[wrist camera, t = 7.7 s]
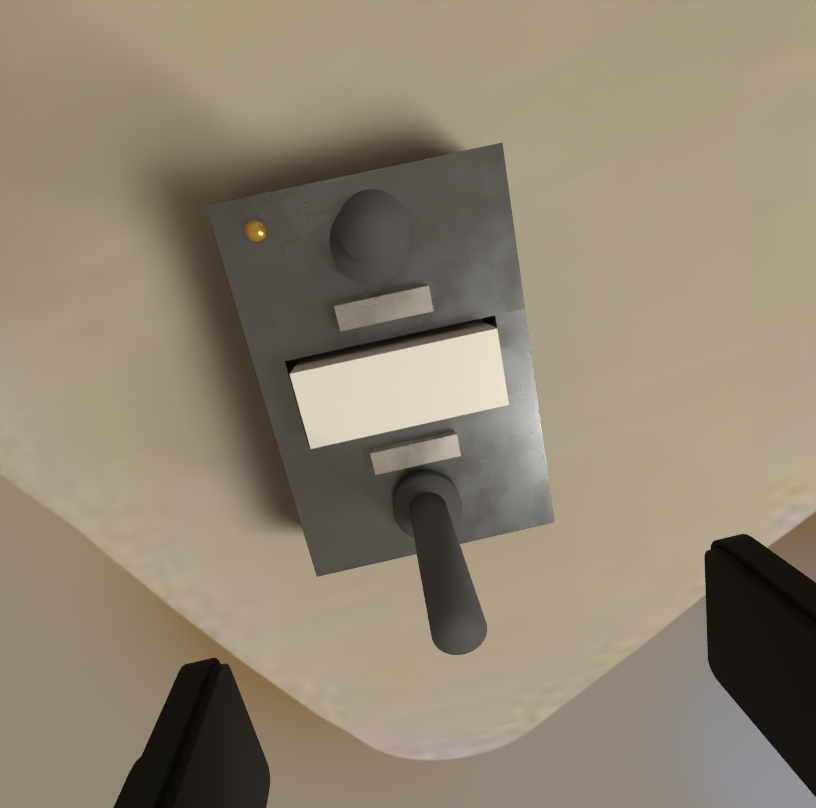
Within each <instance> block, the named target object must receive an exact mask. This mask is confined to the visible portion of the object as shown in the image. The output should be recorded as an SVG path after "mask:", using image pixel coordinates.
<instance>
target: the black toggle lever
mask: <svg viewBox="0 0 816 808" xmlns="http://www.w3.org/2000/svg"><path fill="white" fill-rule="evenodd" d="M393 513H394V518H395V521H396V523H397V525H398V527H399V528H400V529H401V530H402V531H403V532H404V533H405V534H407V535H408V536H410V537H412V538H414V541H415V546H416V552H417V557H418V563H419V568H420V574H421V580H422V585H423V591H424V596H425V602H426V607H427V613H428V619H429V624H430V630H431V635H432V640H433V642H434V644H435V645H436V647H437V648H438V649H440V650H441V651H443V652H445V653H447V654H452V655H461V654H466V653H469V652H471V651H473V650H475V649H476V648H477V647H479V646H480V645H481V643H482V642H483V641H484V639H485V637H486V633H487V624H486V621H485V618H484V615H483V612H482V609H481V606H480V603H479V600H478V597H477V595H476V592H475V589H474V586H473V583H472V580H471V577H470V574H469V571H468V568H467V565H466V562H465V559H464V556H463V553H462V550H461V547H460V544H459V541H458V538H457V535H456V532H455V529H454V527H455V526H456V525H457V523H458V521H459V519H460V517H461V513H462V501H461V498H460V495H459V493H458V490H457V488H456V486H455V484H454V483H453V482H452V481H451V480H450V479H449V478H448V477H447V476H445V475H444V474H442V473H439V472H436V471H419V472H415V473H413V474H411V475H409V476H407V477H406V478H405V479H403V480H402V481H401V482H400V484H399V485H398V486H397V488H396V490H395V492H394V495H393Z"/></svg>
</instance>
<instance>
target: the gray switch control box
mask: <svg viewBox="0 0 816 808" xmlns="http://www.w3.org/2000/svg"><path fill="white" fill-rule="evenodd" d="M368 189H377V190H382V191H385V192H387V193H389V194H391V195H392V196H394V197H395V198H396V199H397V200H398V201H399V202H400V203H401V205H402V206H403V208H404V210H405V212H406V214H407V217H408V222H409V233H410V251H409V255H408V258H407V261H406V262H405V264H404V266H403V267H402V269H401V270H400V271H399V272H398V273H397V274H396V275H395V276H393V277H392V278H390V279H389V280H386V281H384V282H381V283H376V284H366V283H361V282H357V281H355V280H353V279H351V278H349V277H348V276H347V275H345V274H344V273H343V272H342V271H341V270H340V269H339V268H338V266H337V265H336V263H335V261H334V259H333V257H332V254H331V251H330V245H329V236H330V230H331V227H332V224H333V222H334V220H335V218H336V216H337V215H338V214H339V212H340V210H341V208H342V206H343V205H344V203H345V202H346V201H347V200H348V199H349V198H350V197H351V196H352V195H354V194H356V193H358V192H360V191H363V190H368ZM206 209H207V212H208V215H209V219H210V222H211V225H212V229H213V232H214V235H215V239H216V242H217V245H218V249H219V252H220V255H221V259H222V262H223V265H224V269H225V272H226V275H227V279H228V282H229V285H230V289H231V292H232V295H233V299H234V302H235V305H236V309H237V312H238V315H239V319H240V322H241V325H242V329H243V332H244V335H245V339H246V342H247V345H248V349H249V352H250V355H251V359H252V362H253V365H254V369H255V372H256V375H257V379H258V382H259V385H260V389H261V392H262V395H263V399H264V402H265V405H266V409H267V412H268V415H269V419H270V422H271V425H272V429H273V432H274V435H275V439H276V442H277V445H278V449H279V452H280V455H281V459H282V462H283V465H284V469H285V472H286V475H287V479H288V482H289V485H290V489H291V492H292V495H293V499H294V502H295V505H296V509H297V512H298V515H299V519H300V522H301V525H302V529H303V532H304V535H305V539H306V542H307V545H308V549H309V552H310V555H311V559H312V562H313V565H314V569H315V572H316V575H317V577H318V576H322V575H327V574H331V573H335V572H340V571H344V570H348V569H353V568H357V567H362V566H366V565H370V564H375V563H379V562H383V561H388V560H392V559H396V558H401V557H405V556H410V555H414V554H417V552H416V546H415V541H414V538H412V537H410V536H408V535H407V534H405V533H404V532H403V531H402V530H401V529H400V528H399V527H398V525H397V523H396V521H395V518H394V513H393V495H394V492H395V490H396V488H397V486H398V485H399V484H400V482H401V481H402V480H403V479H405V478H406V477H407V476H409V475H411V474H413V473H415V472H419V471H436V472H439V473H442V474H444V475H445V476H447V477H448V478H449V479H450V480H451V481H452V482H453V483H454V484H455V486H456V488H457V490H458V493H459V495H460V498H461V501H462V513H461V517H460V519H459V521H458V523H457V525H456V526H455V527H454V529H455V532H456V535H457V538H458V541H459V544H462V543H466V542H471V541H475V540H479V539H484V538H488V537H492V536H497V535H501V534H506V533H510V532H514V531H519V530H523V529H527V528H532V527H536V526H540V525H545V524H549V523H553V522H554V517H553V509H552V502H551V495H550V488H549V480H548V473H547V466H546V458H545V451H544V444H543V436H542V429H541V422H540V415H539V407H538V400H537V393H536V385H535V378H534V371H533V363H532V356H531V349H530V342H529V334H528V327H527V320H526V312H525V305H524V298H523V290H522V283H521V276H520V269H519V261H518V254H517V247H516V239H515V232H514V225H513V217H512V210H511V203H510V196H509V188H508V181H507V174H506V166H505V159H504V152H503V144H502V143H499V144H494V145H489V146H485V147H480V148H475V149H470V150H466V151H461V152H456V153H451V154H447V155H442V156H437V157H432V158H428V159H423V160H418V161H413V162H409V163H404V164H399V165H394V166H390V167H385V168H380V169H375V170H370V171H366V172H361V173H356V174H351V175H347V176H342V177H337V178H332V179H328V180H323V181H318V182H313V183H309V184H304V185H299V186H294V187H290V188H285V189H280V190H275V191H271V192H266V193H261V194H256V195H252V196H247V197H242V198H237V199H233V200H228V201H223V202H218V203H214V204H209V205H206ZM476 319H479V320H481V321H483V322H485V323H487V324H489V325H491V326H493V327H495V328H497V330H498V336H499V343H500V349H501V356H502V362H503V369H504V375H505V382H506V388H507V395H508V401H509V405H506V406H502V407H497V408H493V409H488V410H484V411H479V412H475V413H470V414H466V415H461V416H457V417H452V418H448V419H443V420H439V421H434V422H430V423H425V424H421V425H416V426H412V427H407V428H403V429H398V430H394V431H389V432H385V433H380V434H376V435H372V436H367V437H363V438H358V439H354V440H349V441H345V442H340V443H336V444H331V445H327V446H322V447H318V448H313V449H310V445H309V441H308V438H307V434H306V431H305V427H304V424H303V420H302V416H301V413H300V409H299V406H298V402H297V399H296V395H295V392H294V388H293V384H292V381H291V377H290V373H291V371H292V370H293V368H294V367H295V365H296V364H297V363H298V361H299V360H300V358H302V357H307V356H311V355H316V354H320V353H325V352H330V351H334V350H339V349H343V348H348V347H353V346H357V345H362V344H366V343H371V342H375V341H380V340H385V339H389V338H394V337H398V336H403V335H407V334H412V333H417V332H421V331H426V330H430V329H435V328H439V327H444V326H449V325H453V324H458V323H462V322H467V321H472V320H476Z"/></svg>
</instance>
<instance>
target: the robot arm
mask: <svg viewBox="0 0 816 808" xmlns="http://www.w3.org/2000/svg"><path fill="white" fill-rule="evenodd" d="M705 582H706V612H707V642H708V661H709V665H710V668H711V670H712V672H713V674H714V676H715V677H716V679H717V680H718V681H719V683H720V684H721V685H722V686H723V688H724V689H725V690H726V691H727V692H728V693H729V695H730V696H731V697H732V698H733V699H734V700H735V702H736V703H737V704H738V705H739V706H740V708H741V709H742V710H743V711H744V712H745V713H746V715H747V716H748V717H749V718H750V720H751V721H752V722H753V723H754V724H755V725H756V727H757V728H758V729H759V730H760V731H761V733H762V734H763V735H764V736H765V737H766V738H767V740H768V741H769V742H770V743H771V744H772V746H773V747H774V748H775V749H776V750H777V752H778V753H779V754H780V755H781V756H782V758H783V759H784V760H785V761H786V762H787V763H788V765H789V766H790V767H791V768H792V769H793V771H794V772H795V773H796V774H797V775H798V776H799V778H800V779H801V780H802V781H803V782H804V784H805V785H806V786H807V787H808V788H809V790H810V791H811V792H812V793H813V794H814V795H815V796H816V583H815V582H814V581H813V580H811V579H810V578H808V577H807V576H805V575H804V574H803V573H801V572H800V571H799V570H797V569H796V568H794V567H793V566H792V565H790V564H789V563H787V562H786V561H785V560H783V559H782V558H780V557H779V556H778V555H776V554H775V553H773V552H772V551H771V550H769V549H768V548H766V547H765V546H764V545H762V544H761V543H759V542H758V541H757V540H755V539H754V538H752V537H751V536H749V535H746V534H740V535H736V536H732V537H728V538H723V539H719V540H715V541H713V543H712V544H711V550H708V551H706V553H705ZM269 787H270V773H269V767H268V764H267V761H266V759H265V756H264V753H263V751H262V748H261V746H260V743H259V740H258V738H257V736H256V733H255V730H254V728H253V725H252V722H251V720H250V717H249V715H248V712H247V710H246V707H245V704H244V702H243V699H242V697H241V694H240V692H239V689H238V687H237V684H236V681H235V679H234V676H233V674H232V671H231V669H230V667H229V665H228V664H220V662H219V660H218V659H216V658H211V659H206V660H202V661H198V662H194V663H190V664H185V665H184V666H182V668H181V669H180V671H179V673H178V675H177V678H176V680H175V682H174V684H173V686H172V689H171V691H170V693H169V695H168V698H167V700H166V703H165V705H164V707H163V709H162V711H161V713H160V716H159V718H158V720H157V722H156V725H155V727H154V729H153V732H152V734H151V736H150V738H149V740H148V743H147V745H146V747H145V750H144V752H143V754H142V756H141V757H140V758H139V759H138V760H137V761H136V762H135V764H134V765H133V767H132V769H131V771H130V773H129V775H128V777H127V779H126V781H125V783H124V786H123V788H122V790H121V792H120V795H119V797H118V799H117V802H116V803H115V806H114V808H266V806H267V800H268V794H269Z"/></svg>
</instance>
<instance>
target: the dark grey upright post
mask: <svg viewBox="0 0 816 808" xmlns="http://www.w3.org/2000/svg"><path fill="white" fill-rule="evenodd" d="M329 245H330V251H331V254H332V257H333V259H334V261H335V263H336V265H337V266H338V268H339V269H340V270H341V271H342V272H343V273H344V274H345V275H347V276H348V277H349V278H351V279H353V280H355V281H357V282H361V283H366V284H376V283H381V282H384V281H386V280H389V279H390V278H392V277H393V276H395V275H396V274H397V273H398V272H399V271H400V270H401V269H402V267H403V266H404V264H405V262H406V261H407V258H408V255H409V251H410V233H409V222H408V217H407V214H406V212H405V210H404V208H403V206H402V205H401V203H400V202H399V201H398V200H397V199H396V198H395V197H394V196H392V195H391V194H389V193H387V192H385V191H382V190H377V189H368V190H363V191H360V192H358V193H356V194H354V195H352V196H351V197H350V198H349V199H348V200H347V201H346V202H345V203H344V205H343V206H342V208H341V210H340V212H339V214H338V215H337V216H336V218H335V220H334V222H333V224H332V227H331V230H330V236H329Z"/></svg>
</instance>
